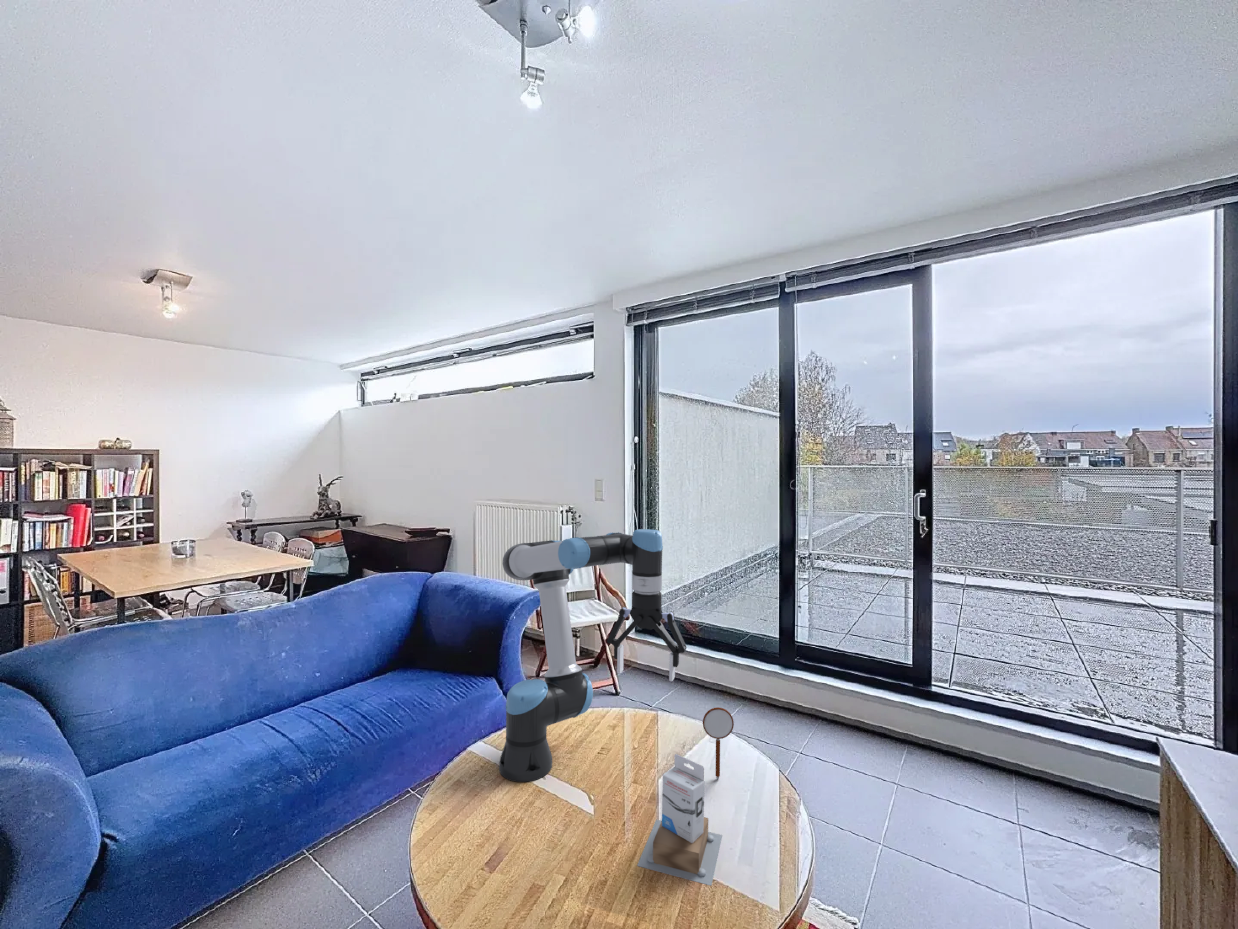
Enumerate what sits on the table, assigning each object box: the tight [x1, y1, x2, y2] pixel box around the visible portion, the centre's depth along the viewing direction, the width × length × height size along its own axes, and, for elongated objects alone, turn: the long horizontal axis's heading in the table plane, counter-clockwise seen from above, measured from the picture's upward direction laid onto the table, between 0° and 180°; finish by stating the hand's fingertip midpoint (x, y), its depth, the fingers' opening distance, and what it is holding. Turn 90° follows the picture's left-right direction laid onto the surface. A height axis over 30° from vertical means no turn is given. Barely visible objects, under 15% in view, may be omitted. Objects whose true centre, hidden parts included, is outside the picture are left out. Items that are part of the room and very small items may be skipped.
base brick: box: [653, 816, 709, 874], centre depth 119 cm, size 10×12×4 cm
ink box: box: [661, 753, 706, 843], centre depth 119 cm, size 9×5×15 cm, turn 49°
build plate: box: [636, 819, 723, 886], centre depth 119 cm, size 16×16×2 cm
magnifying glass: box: [702, 707, 735, 780], centre depth 148 cm, size 9×2×20 cm, turn 87°
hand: (645, 675), depth 133 cm, fingers open, 13 cm apart
